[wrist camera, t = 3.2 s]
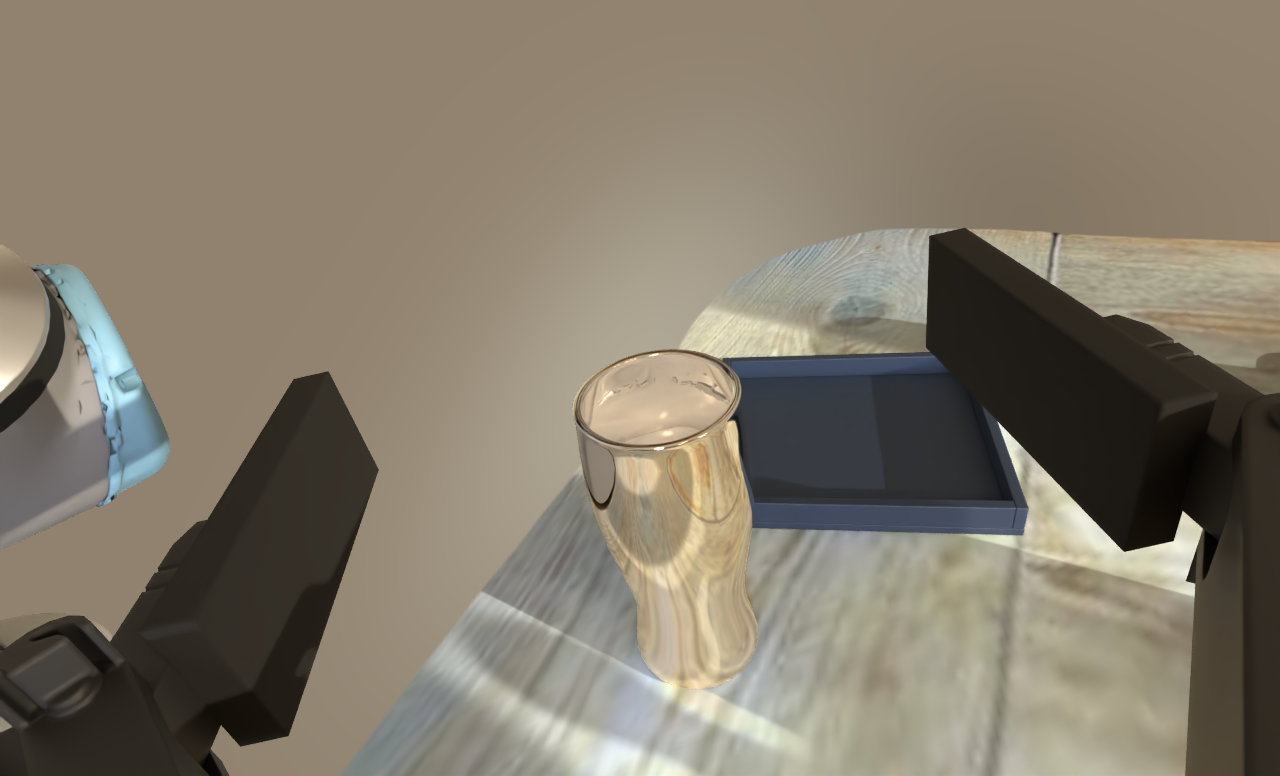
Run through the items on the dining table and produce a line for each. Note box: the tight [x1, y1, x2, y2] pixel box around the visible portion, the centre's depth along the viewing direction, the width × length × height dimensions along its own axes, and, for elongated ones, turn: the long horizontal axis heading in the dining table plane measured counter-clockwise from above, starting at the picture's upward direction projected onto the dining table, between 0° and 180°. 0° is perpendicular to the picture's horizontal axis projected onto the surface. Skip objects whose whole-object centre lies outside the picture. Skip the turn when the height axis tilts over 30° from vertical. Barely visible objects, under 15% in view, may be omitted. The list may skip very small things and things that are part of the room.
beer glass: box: [573, 349, 758, 689], centre depth 31 cm, size 7×7×15 cm
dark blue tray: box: [722, 352, 1029, 535], centre depth 45 cm, size 17×15×2 cm
